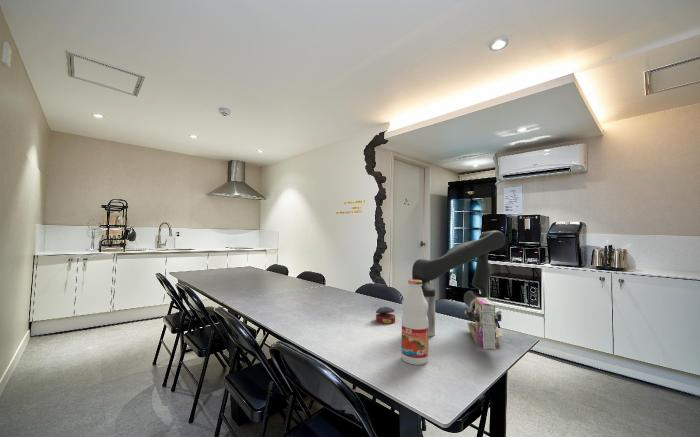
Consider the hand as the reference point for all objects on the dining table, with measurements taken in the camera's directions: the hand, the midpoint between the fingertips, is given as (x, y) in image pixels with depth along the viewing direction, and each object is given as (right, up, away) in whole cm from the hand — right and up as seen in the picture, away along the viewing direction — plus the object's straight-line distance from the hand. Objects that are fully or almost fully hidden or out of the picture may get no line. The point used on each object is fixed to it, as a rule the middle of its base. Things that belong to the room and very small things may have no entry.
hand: (486, 320), depth 107 cm
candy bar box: (+1, -10, +3) cm, 11 cm away
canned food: (-33, -16, +41) cm, 55 cm away
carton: (+8, -15, +19) cm, 25 cm away
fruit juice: (-28, -13, -4) cm, 31 cm away
